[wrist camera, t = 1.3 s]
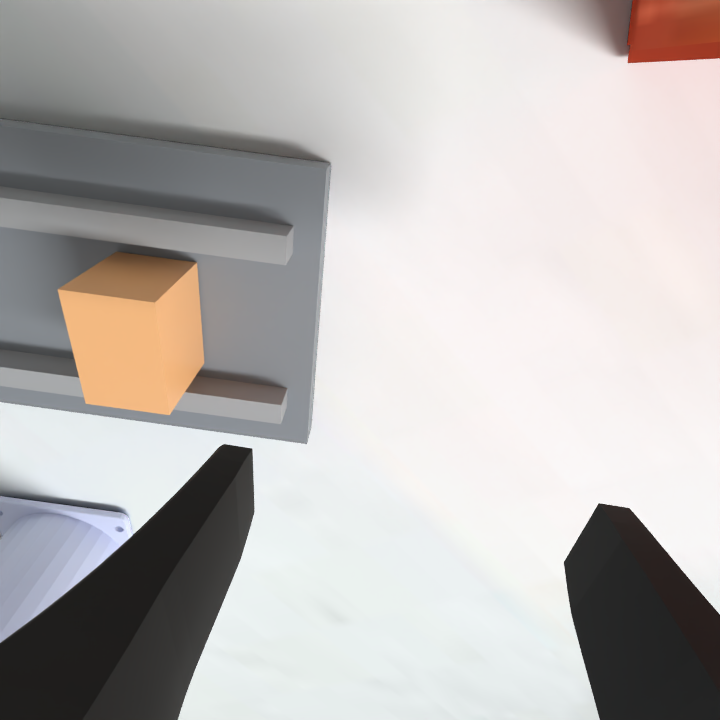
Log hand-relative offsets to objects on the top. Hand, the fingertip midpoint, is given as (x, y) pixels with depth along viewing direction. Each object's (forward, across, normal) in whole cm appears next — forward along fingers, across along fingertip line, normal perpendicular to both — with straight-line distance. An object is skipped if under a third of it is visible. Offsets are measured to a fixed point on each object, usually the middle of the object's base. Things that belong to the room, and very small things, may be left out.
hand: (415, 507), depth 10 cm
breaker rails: (+10, +16, +2) cm, 19 cm away
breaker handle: (+9, +10, +2) cm, 13 cm away
